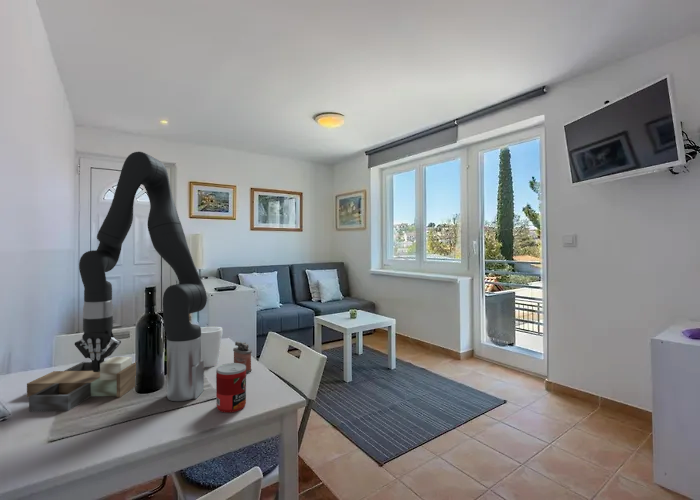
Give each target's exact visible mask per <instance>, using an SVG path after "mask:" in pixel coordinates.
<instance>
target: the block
mask: <svg viewBox="0 0 700 500" xmlns="http://www.w3.org/2000/svg"><path fill="white" fill-rule="evenodd" d="M132 364H133V357H132V356H112V357H110V358H108V359H106V360H104V362H102V363H100V380H117V373H118V372H120V371H122V370H123V369H125V368H127V367H128V366H130V365H132Z"/></svg>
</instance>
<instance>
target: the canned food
mask: <svg viewBox="0 0 700 500" xmlns="http://www.w3.org/2000/svg"><path fill="white" fill-rule="evenodd" d="M215 373H216V374H215V377H216V378H215V380H216V381H215V383H216V386H215V388H216V389H215V390H216V392H215V393H216V397H215V399H216V403H215V404H216V409H217V410H218V411H219V412H222V413H230V414H231V413H235V412H239V411H242V410H243V408H245V406H246V403H247V373H246V366H245V365H244V364H241V363H234V362H229V363H224V364H222V365H219V366H217V367H216V372H215Z"/></svg>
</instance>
